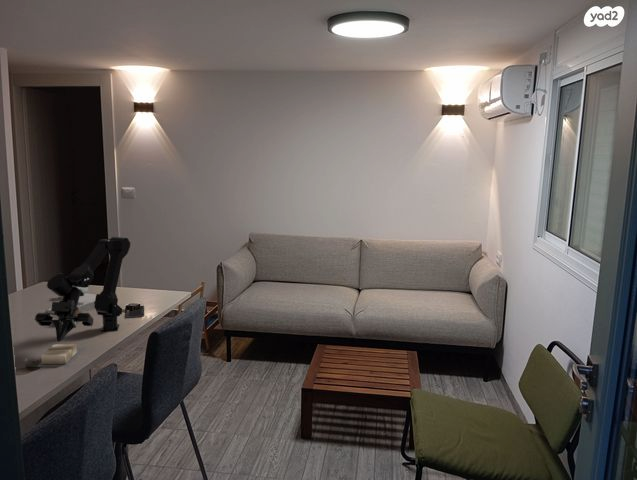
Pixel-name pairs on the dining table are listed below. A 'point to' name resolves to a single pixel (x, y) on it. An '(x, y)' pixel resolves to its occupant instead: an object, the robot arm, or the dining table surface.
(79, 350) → the mat
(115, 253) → the robot arm
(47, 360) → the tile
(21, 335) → the dining table surface
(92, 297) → the ramp
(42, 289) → the dining table surface
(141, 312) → the phone
